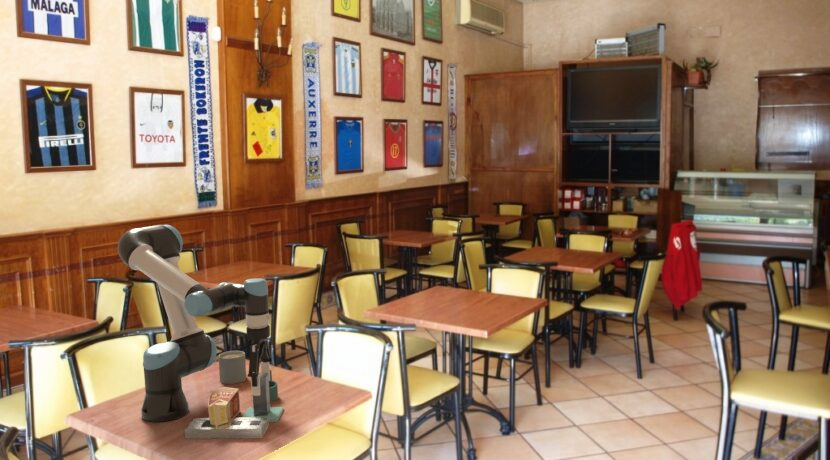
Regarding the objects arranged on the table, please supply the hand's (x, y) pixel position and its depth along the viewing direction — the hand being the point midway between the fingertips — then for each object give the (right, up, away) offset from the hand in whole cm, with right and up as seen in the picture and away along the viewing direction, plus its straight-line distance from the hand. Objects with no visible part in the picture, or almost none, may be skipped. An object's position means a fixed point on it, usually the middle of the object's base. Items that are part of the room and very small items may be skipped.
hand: (261, 387), depth 231 cm
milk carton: (-13, -5, +5) cm, 15 cm away
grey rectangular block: (0, -9, +1) cm, 9 cm away
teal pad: (0, -10, +1) cm, 10 cm away
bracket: (-2, -8, +17) cm, 19 cm away
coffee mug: (-19, -5, +39) cm, 44 cm away
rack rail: (-8, -11, -11) cm, 18 cm away
